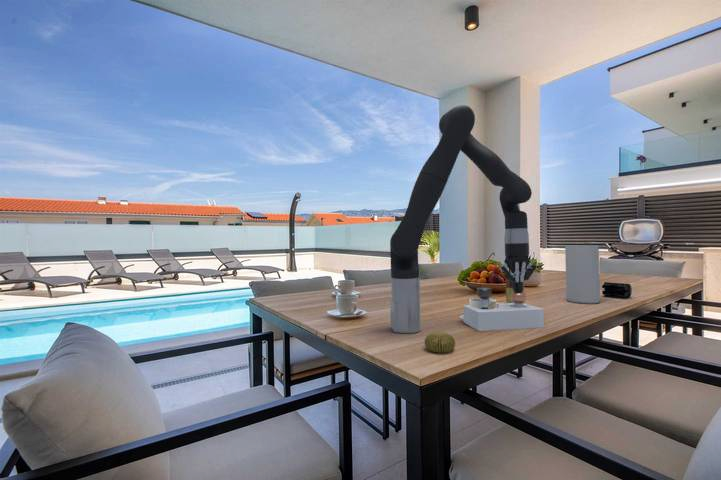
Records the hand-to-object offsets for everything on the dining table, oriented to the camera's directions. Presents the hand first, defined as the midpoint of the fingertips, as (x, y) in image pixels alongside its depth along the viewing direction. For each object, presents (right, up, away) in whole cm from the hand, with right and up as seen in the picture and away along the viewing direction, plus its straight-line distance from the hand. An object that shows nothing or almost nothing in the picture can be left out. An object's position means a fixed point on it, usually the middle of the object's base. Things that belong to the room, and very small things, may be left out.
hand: (518, 292), depth 116 cm
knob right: (0, -8, 0) cm, 8 cm away
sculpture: (-32, -12, -24) cm, 42 cm away
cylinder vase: (+46, -10, +36) cm, 59 cm away
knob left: (-12, -7, -1) cm, 14 cm away
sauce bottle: (+5, -11, +13) cm, 17 cm away
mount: (-6, -11, -1) cm, 12 cm away
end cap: (+67, -9, +44) cm, 81 cm away
